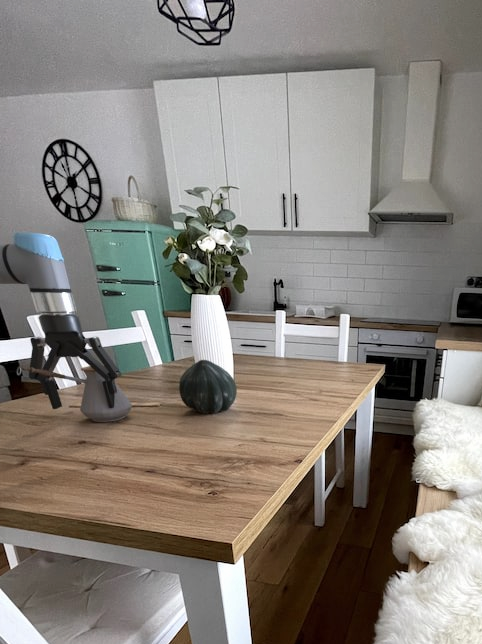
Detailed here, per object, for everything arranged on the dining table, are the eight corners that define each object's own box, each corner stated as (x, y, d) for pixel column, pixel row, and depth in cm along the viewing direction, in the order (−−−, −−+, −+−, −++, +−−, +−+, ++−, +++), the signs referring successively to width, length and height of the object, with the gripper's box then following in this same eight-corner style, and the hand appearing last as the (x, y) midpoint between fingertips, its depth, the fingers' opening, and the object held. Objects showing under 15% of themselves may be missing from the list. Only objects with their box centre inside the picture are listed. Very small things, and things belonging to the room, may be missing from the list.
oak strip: (69, 407, 111) (68, 405, 111) (74, 404, 114) (74, 403, 114) (158, 406, 114) (157, 405, 114) (161, 403, 117) (161, 402, 116)
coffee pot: (122, 409, 110) (108, 353, 104) (142, 417, 104) (128, 358, 98) (29, 426, 95) (7, 363, 89) (46, 437, 89) (22, 369, 82)
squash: (215, 381, 120) (183, 346, 107) (253, 389, 115) (225, 353, 101) (192, 420, 116) (155, 388, 103) (230, 430, 110) (197, 398, 97)
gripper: (122, 313, 93) (143, 402, 103) (10, 312, 91) (41, 404, 100) (107, 315, 87) (131, 410, 96) (-14, 314, 84) (22, 412, 93)
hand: (85, 407), depth 98 cm, fingers open, 12 cm apart
